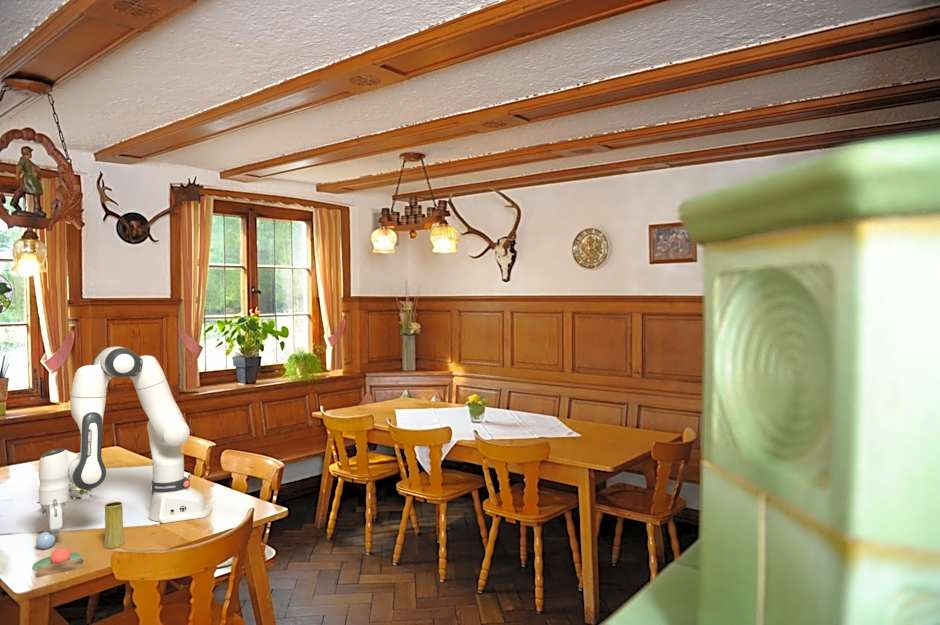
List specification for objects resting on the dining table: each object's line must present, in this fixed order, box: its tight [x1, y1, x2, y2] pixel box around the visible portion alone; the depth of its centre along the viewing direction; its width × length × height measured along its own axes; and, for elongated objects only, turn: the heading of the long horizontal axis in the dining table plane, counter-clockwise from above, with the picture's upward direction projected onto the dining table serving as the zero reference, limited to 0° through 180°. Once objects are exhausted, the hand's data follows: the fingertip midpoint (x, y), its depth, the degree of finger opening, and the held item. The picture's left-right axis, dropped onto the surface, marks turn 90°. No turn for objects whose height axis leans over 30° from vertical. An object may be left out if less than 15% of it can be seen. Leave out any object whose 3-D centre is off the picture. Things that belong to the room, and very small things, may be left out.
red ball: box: [49, 548, 71, 564], centre depth 203 cm, size 6×6×6 cm
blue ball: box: [35, 531, 56, 550], centre depth 217 cm, size 6×6×6 cm
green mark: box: [31, 552, 85, 572], centre depth 206 cm, size 14×14×1 cm
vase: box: [103, 501, 125, 549], centre depth 220 cm, size 6×6×14 cm
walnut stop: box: [36, 558, 84, 578], centre depth 199 cm, size 12×2×2 cm, turn 125°
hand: (54, 535), depth 224 cm, fingers closed
